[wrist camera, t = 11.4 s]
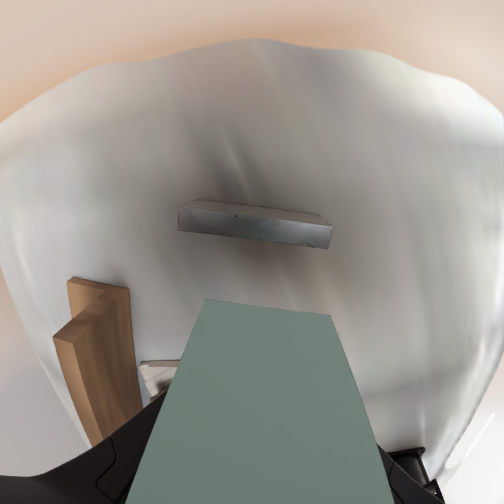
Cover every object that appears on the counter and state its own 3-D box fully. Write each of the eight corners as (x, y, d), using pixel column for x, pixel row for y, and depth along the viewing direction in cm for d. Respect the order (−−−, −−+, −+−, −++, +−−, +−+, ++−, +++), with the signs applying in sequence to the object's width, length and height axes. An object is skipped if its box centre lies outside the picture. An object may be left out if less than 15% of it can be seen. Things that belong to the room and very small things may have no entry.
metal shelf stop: (318, 214, 18) (332, 226, 15) (316, 232, 19) (328, 249, 15) (196, 199, 19) (179, 207, 15) (195, 217, 19) (177, 230, 15)
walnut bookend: (129, 288, 21) (72, 343, 13) (150, 442, 26) (129, 494, 19) (73, 277, 21) (11, 319, 13) (107, 428, 26) (82, 475, 19)
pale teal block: (329, 315, 9) (399, 521, 2) (296, 416, 10) (308, 570, 4) (205, 299, 9) (122, 511, 2) (200, 405, 10) (162, 558, 4)
